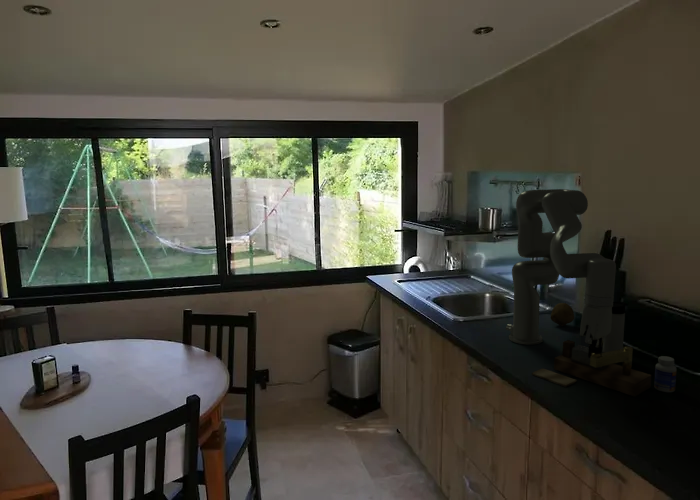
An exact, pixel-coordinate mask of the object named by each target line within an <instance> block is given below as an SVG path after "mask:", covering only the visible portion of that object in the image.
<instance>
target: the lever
mask: <svg viewBox="0 0 700 500" xmlns="http://www.w3.org/2000/svg"><path fill="white" fill-rule="evenodd" d="M633 351H634V349H633V347H632V346H627V345H625V346H624V345H623V349H619V350H615V351H610V352H605V353H601V354H600V353H597V352H592V355H591V358H590V365H591V366H593V367H595V368H597V367H601V366H605V365H610V364H618V363H622V365H621V366H622V373H623V374H625V375H631V369H632V367H633V365H632V364H633Z"/></svg>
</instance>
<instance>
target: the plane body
mask: <svg viewBox="0 0 700 500" xmlns="http://www.w3.org/2000/svg"><path fill="white" fill-rule="evenodd" d="M575 343H576V342H575V341H573V340H570V339H567V340H564V341H562V354H560V355H557V356H555V357H554V358H553V359H554V361H553V370H556V371H559V372H561V373H565V374H567V375H570V376H573V377H576V378H578V379H580V380H581V379H582V380H585V381H587V382H591V383H593V384H597V385H599V386H603V387H605V388H607V389H610V390H614V391H617V392H620V393H623V394H626V395H629V396H632V397H635V398H636V397H637V396H639V395H640V394H642V393H644V392H645V391H647V390H649V389H650V388H651V387H652V386H651V385H652V377H653V376H652V374H650V373H646V372H643V371H640V370H637V369H633V368H631V375H625V374H623V373H622V366H623V365H620V364H618V363H614V364H610V365H609V367H608V368H606V369H604V370H602V371H601V370H598V369H595V368H592V367H589V366H585V365H582V364H579V363H576V362H573V361H571V358H572V348H573V347H576V346H575V345H576V344H575Z"/></svg>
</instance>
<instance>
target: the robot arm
mask: <svg viewBox="0 0 700 500" xmlns="http://www.w3.org/2000/svg"><path fill="white" fill-rule="evenodd" d="M588 207H589V203H588V198H587V197H586V195H585V194H584V193H583V191H580V190H577V189H565V188H559V189H558V188H556V189H555V188H554V189H553V188H552V189H551V188H550V189H531V190H530V189H529V190H525V191H522V192H520V193H519V194H518V196H517V198H516V202H515V210H516V214H517V217H518V231H517V253H518V255H519V256H520V257H521V258H524V259H525V258H526V259H534V258H535V260H522V261H518V262H516V263H514V264H513V266H512V267H511V276H512V277H511V278H512V284H513V316H512V317H513V318H512V319H513V320H512V323H513V324H511V323H508V324H506V327H505V330H506V331H508V332H510V334H509V335H508V339H509V340H510V341H511V342H512V343H515V344H520V345H528V346H533V345H540V344H541V343H542V342H543V339H544V338H543V337H542V335H540V334H539V333H540V332H539V331H540V328H539V327H540V326H539V325H540V304H541V302H540V301H541V299H540V295H539V292H538V291H537V290H536V288H535V286H541V285H542V286H543V285H553V284H555V283H557V282H558V280H559V278H560V277H562V278H564V279H567V280H569V279H583V278H584V279H585V289H584V290H585V293H584V306H583V309H582V313H581V321H580V326H579V327H580V330H579V336H580V337H582V338H583V337H585V338H584V343H585V344H587V346H588V347H589V353H588V357H589V358H591V355H592V352H597V353H600V354H601V353H602V351H603V342H604V338H605V337H606V336H607V335H608V334H609V333H610V332H611V326H612V307H613V302H614V297H615V286H616V285H615V284H616V283H615V282H616V271H617V263H616V262H615V260H614V259H610V258H606V257H604V256H603V255H602V254H601V253H597V252H587V253H586V252H585V253H568V252H567V251H566V249H565V247H564V244H563V243H565V242H566V241H568V240H571V239H573V238H574V237H576V236H577V235H578V234H580V232H581V230H582V227H583V225H582V222H581V220H580V219H579V215H581V216H582V215H583V214H585V213H586V211H587V210H588ZM540 214H545V215H546V218H547V220H548V222H549V224H550V226H551V228H552V231H553V232H548V231H547V232H543V224H544V223H543V219H542V218H541V216H540ZM538 258H543V259H538ZM536 259H537V260H536Z"/></svg>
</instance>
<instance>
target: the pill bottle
mask: <svg viewBox="0 0 700 500" xmlns="http://www.w3.org/2000/svg"><path fill="white" fill-rule="evenodd" d="M657 361H658V362H657V363H656V364H655V370H654V385H653V386H654V388H655V390H658V391H659V392H662V393H673V392H675V391H676V383H677V382H676V381H677V372H678V371H677V369H678V368H677V367H676V366H675V359H674V357H670V356H666V355H665V356H664V355H661V356H659V357H658V360H657Z"/></svg>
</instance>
